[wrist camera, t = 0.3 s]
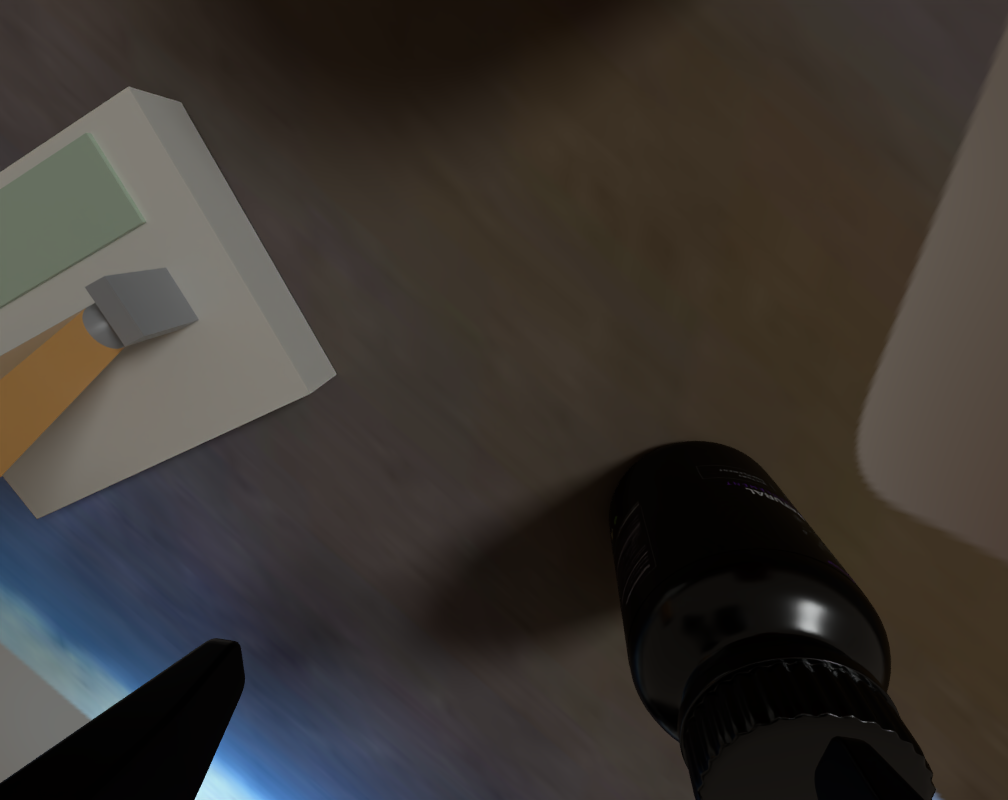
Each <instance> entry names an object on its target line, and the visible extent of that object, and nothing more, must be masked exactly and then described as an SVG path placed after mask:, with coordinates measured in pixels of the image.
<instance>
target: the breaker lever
mask: <svg viewBox="0 0 1008 800" xmlns="http://www.w3.org/2000/svg"><path fill="white" fill-rule="evenodd" d="M124 347H125V346H124V344H123V343H122V341H121V340H120V339H119V337H118V336H117V334H116V333H115V331H114V330H113V328H112V327H111V325H110V324H109V322H108V321H107V319H106V318H105V316H104V315H103V313H102V312H101V311H100V309H99V308H98V306H97V305H96V303H94V304H92V305H90V306H88V307H87V308H85V309H83V310H81V311H79V312H78V313H76V314H74V315H72V316H71V317H69V318H67V319H65V320H63V321H62V322H60V323H58V324H56V325H55V326H53V327H51V328H49V329H47V330H46V331H44V332H42V333H40V334H39V335H37V336H35V337H33V338H31V339H30V340H28V341H26V342H24V343H23V344H21V345H19V346H17V347H15V348H14V349H12V350H10V351H8V352H7V353H5V354H3V355H1V356H0V477H1V476H2V475H3V474H4V473H5V472H6V471H7V470H8V469H9V468H10V467H11V466H12V465H13V463H14V462H15V461H16V460H17V459H18V458H19V457H20V456H21V455H22V454H23V453H24V452H25V451H26V450H27V449H28V448H29V447H30V446H31V445H32V444H33V443H34V441H35V440H36V439H37V438H38V437H39V436H40V435H41V434H42V433H43V432H44V431H45V430H46V429H47V428H48V427H49V426H50V425H51V424H52V423H53V422H54V421H55V420H56V418H57V417H58V416H59V415H60V414H61V413H62V412H63V411H64V410H65V409H66V408H67V407H68V406H69V405H70V404H71V403H72V402H73V401H74V400H75V399H76V398H77V396H78V395H79V394H80V393H81V392H82V391H83V390H84V389H85V388H86V387H87V386H88V385H89V384H90V383H91V382H92V381H93V380H94V379H95V378H96V377H97V376H98V374H99V373H100V372H101V371H102V370H103V369H104V368H105V367H106V366H107V365H108V364H109V363H110V362H111V361H112V360H113V359H114V358H115V357H116V356H117V355H118V354H119V352H120V351H121V350H122V349H123V348H124Z"/></svg>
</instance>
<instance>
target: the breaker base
mask: <svg viewBox="0 0 1008 800" xmlns="http://www.w3.org/2000/svg"><path fill="white" fill-rule="evenodd" d="M94 303H96V305H97V306H98V308H99V309H100V311H101V312H102V313H103V315H104V316H105V318H106V319H107V321H108V322H109V324H110V325H111V327H112V328H113V330H114V331H115V333H116V334H117V336H118V337H119V339H120V340H121V341H122V343H123V344H124V346H125V347H124V348H123V349H122V350H121V351H120V352H119V354H118V355H117V356H116V357H115V358H114V359H113V360H112V361H111V362H110V363H109V364H108V365H107V366H106V367H105V368H104V369H103V370H102V371H101V372H100V373H99V374H98V376H97V377H96V378H95V379H94V380H93V381H92V382H91V383H90V384H89V385H88V386H87V387H86V388H85V389H84V390H83V391H82V392H81V393H80V394H79V395H78V396H77V398H76V399H75V400H74V401H73V402H72V403H71V404H70V405H69V406H68V407H67V408H66V409H65V410H64V411H63V412H62V413H61V414H60V415H59V416H58V417H57V418H56V420H55V421H54V422H53V423H52V424H51V425H50V426H49V427H48V428H47V429H46V430H45V431H44V432H43V433H42V434H41V435H40V436H39V437H38V438H37V439H36V440H35V441H34V443H33V444H32V445H31V446H30V447H29V448H28V449H27V450H26V451H25V452H24V453H23V454H22V455H21V456H20V457H19V458H18V459H17V460H16V461H15V462H14V463H13V465H12V466H11V467H10V468H9V469H8V470H7V471H6V472H5V473H4V474H3V475H2V476H3V477H4V479H5V480H6V481H7V482H8V484H9V485H10V486H11V487H12V489H13V490H14V491H15V492H16V494H17V495H18V496H19V497H20V499H21V500H22V501H23V502H24V504H25V505H26V506H27V507H28V509H29V510H30V511H31V512H32V514H33V515H34V516H35V517H36V519H38V518H41V517H43V516H45V515H47V514H49V513H52V512H54V511H56V510H58V509H60V508H62V507H65V506H67V505H69V504H71V503H73V502H75V501H78V500H80V499H82V498H84V497H86V496H89V495H91V494H93V493H95V492H97V491H99V490H102V489H104V488H106V487H108V486H110V485H113V484H115V483H117V482H119V481H121V480H123V479H126V478H128V477H130V476H132V475H134V474H136V473H139V472H141V471H143V470H145V469H147V468H150V467H152V466H154V465H156V464H158V463H160V462H163V461H165V460H167V459H169V458H171V457H174V456H176V455H178V454H180V453H182V452H184V451H187V450H189V449H191V448H193V447H195V446H198V445H200V444H202V443H204V442H206V441H208V440H211V439H213V438H215V437H217V436H219V435H221V434H224V433H226V432H228V431H230V430H232V429H235V428H237V427H239V426H241V425H243V424H245V423H248V422H250V421H252V420H254V419H256V418H259V417H261V416H263V415H265V414H267V413H269V412H272V411H274V410H276V409H278V408H280V407H282V406H285V405H287V404H289V403H291V402H293V401H296V400H298V399H300V398H302V397H304V396H306V395H309V394H311V393H312V392H313V391H315V390H316V389H318V388H319V387H320V386H322V385H323V384H324V383H326V382H327V381H328V380H330V379H331V378H333V377H334V376H335V375H337V374H336V372H335V370H334V369H333V367H332V365H331V363H330V362H329V360H328V358H327V356H326V355H325V353H324V351H323V349H322V348H321V346H320V344H319V342H318V341H317V339H316V337H315V335H314V334H313V332H312V330H311V328H310V327H309V325H308V323H307V321H306V320H305V318H304V316H303V314H302V313H301V311H300V309H299V307H298V306H297V304H296V302H295V300H294V299H293V297H292V295H291V293H290V292H289V290H288V288H287V286H286V285H285V283H284V281H283V279H282V278H281V276H280V274H279V272H278V271H277V269H276V267H275V266H274V264H273V262H272V260H271V259H270V257H269V255H268V253H267V252H266V250H265V248H264V246H263V245H262V243H261V241H260V239H259V238H258V236H257V234H256V232H255V231H254V229H253V227H252V225H251V224H250V222H249V220H248V218H247V217H246V215H245V213H244V211H243V210H242V208H241V206H240V204H239V203H238V201H237V199H236V197H235V196H234V194H233V192H232V190H231V189H230V187H229V185H228V183H227V182H226V180H225V178H224V176H223V175H222V173H221V171H220V169H219V168H218V166H217V164H216V162H215V161H214V159H213V157H212V156H211V154H210V152H209V150H208V149H207V147H206V145H205V143H204V142H203V140H202V138H201V136H200V135H199V133H198V131H197V129H196V128H195V126H194V124H193V122H192V121H191V119H190V117H189V115H188V114H187V112H186V110H185V108H184V107H183V105H182V103H181V102H179V101H175V100H172V99H168V98H165V97H162V96H158V95H155V94H152V93H148V92H145V91H142V90H138V89H135V88H132V87H127V88H126V89H124V90H123V91H121V92H120V93H118V94H117V95H115V96H114V97H112V98H111V99H109V100H108V101H106V102H105V103H103V104H102V105H100V106H99V107H97V108H96V109H94V110H93V111H91V112H90V113H88V114H87V115H85V116H84V117H82V118H81V119H79V120H78V121H76V122H75V123H73V124H72V125H70V126H69V127H67V128H66V129H64V130H63V131H61V132H60V133H58V134H57V135H55V136H54V137H52V138H51V139H49V140H48V141H46V142H45V143H43V144H42V145H40V146H39V147H37V148H36V149H34V150H33V151H31V152H30V153H28V154H27V155H25V156H24V157H22V158H21V159H19V160H18V161H16V162H15V163H13V164H12V165H10V166H9V167H7V168H6V169H4V170H3V171H1V172H0V356H1V355H3V354H5V353H7V352H8V351H10V350H12V349H14V348H15V347H17V346H19V345H21V344H23V343H24V342H26V341H28V340H30V339H31V338H33V337H35V336H37V335H39V334H40V333H42V332H44V331H46V330H47V329H49V328H51V327H53V326H55V325H56V324H58V323H60V322H62V321H63V320H65V319H67V318H69V317H71V316H72V315H74V314H76V313H78V312H79V311H81V310H83V309H85V308H87V307H88V306H90V305H92V304H94Z"/></svg>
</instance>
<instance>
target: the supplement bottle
mask: <svg viewBox="0 0 1008 800" xmlns="http://www.w3.org/2000/svg"><path fill="white" fill-rule="evenodd" d="M609 526H610V534H611V543H612V550H613V557H614V564H615V571H616V578H617V585H618V592H619V598H620V605H621V612H622V619H623V626H624V633H625V640H626V647H627V653H628V660H629V665H630V670H631V675H632V679H633V682H634V685H635V688H636V690H637V693H638V695H639V697H640V699H641V701H642V703H643V704H644V706H645V708H646V709H647V711H648V712H649V713H650V715H651V716H652V717H653V719H654V720H655V721H656V722H657V723H658V724H659V725H660V726H661V727H662V728H663V729H664V730H665V731H666V732H667V733H668V734H669V735H670V736H671V737H672V738H674V739H675V740H676V741H678V742H679V743H680V748H681V752H682V756H683V759H684V761H685V764H686V766H687V768H688V770H689V774H690V779H691V783H692V788H693V792H694V796H695V799H696V800H818V797H817V793H816V789H815V782H814V775H815V770H816V767H817V765H818V763H819V761H820V759H821V758H822V756H823V754H824V752H825V750H826V748H827V746H828V744H829V742H830V741H831V739H832V738H834V737H836V736H843V737H849V738H855V739H860V740H863V741H865V742H867V743H868V744H869V745H871V746H872V747H873V748H874V749H875V750H876V751H877V752H878V753H879V754H880V755H881V756H882V757H883V758H884V759H885V760H886V761H887V762H888V763H889V764H890V765H891V766H892V767H893V768H894V769H895V770H896V771H897V772H898V773H899V774H900V775H901V776H902V778H903V779H904V780H905V781H906V782H907V783H908V784H909V785H910V786H911V787H912V788H913V789H914V790H915V791H916V792H917V793H918V794H919V795H920V796H921V797H922V798H923V799H924V800H932V797H933V795H934V793H935V791H936V789H935V787H934V784H933V782H932V777H933V773H932V770H931V768H930V766H929V764H928V762H927V761H926V759H925V757H924V754H923V752H922V750H921V748H920V747H919V745H918V743H917V742H916V740H915V739H914V737H913V736H912V734H911V733H910V731H909V730H908V729H907V727H906V726H905V724H904V723H903V721H902V720H901V718H900V716H899V713H898V711H897V708H896V707H895V705H894V703H893V701H892V700H891V698H890V697H889V695H888V694H887V690H888V686H889V681H890V674H891V655H890V647H889V642H888V638H887V634H886V631H885V629H884V626H883V624H882V621H881V619H880V617H879V616H878V614H877V612H876V610H875V609H874V607H873V606H872V605H871V603H870V602H869V600H868V599H867V597H866V596H865V595H864V593H863V592H862V591H861V589H860V588H859V587H858V586H857V584H856V583H855V582H854V581H853V579H852V578H851V577H850V576H849V574H848V573H847V572H846V571H845V569H844V568H843V567H842V565H841V564H840V563H839V562H838V560H837V559H836V558H835V557H834V555H833V554H832V553H831V552H830V550H829V549H828V548H827V547H826V545H825V544H824V543H823V542H822V540H821V539H820V538H819V537H818V535H817V534H816V533H815V532H814V530H813V529H812V528H811V527H810V525H809V524H808V523H807V522H806V520H805V519H804V518H803V517H802V515H801V514H800V513H799V512H798V510H797V509H796V508H795V507H794V505H793V504H792V503H791V502H790V500H789V499H788V498H787V497H786V495H785V494H784V493H783V492H782V490H781V489H780V488H779V487H778V485H777V484H776V483H775V482H774V481H773V480H772V478H771V477H770V476H769V475H768V474H767V472H766V471H765V470H764V469H763V468H762V467H761V466H760V465H759V464H758V463H756V462H755V461H754V460H753V459H752V458H750V457H749V456H747V455H746V454H744V453H742V452H740V451H739V450H736V449H734V448H731V447H729V446H726V445H722V444H718V443H714V442H706V441H687V442H680V443H675V444H671V445H668V446H665V447H662V448H660V449H657V450H655V451H653V452H651V453H649V454H648V455H646V456H644V457H643V458H641V459H640V460H639V461H638V462H636V463H635V464H634V465H633V466H632V467H631V468H630V469H629V470H628V471H627V472H626V473H625V475H624V476H623V477H622V479H621V480H620V482H619V484H618V486H617V487H616V490H615V492H614V494H613V497H612V501H611V505H610V512H609Z"/></svg>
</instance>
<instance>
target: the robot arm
mask: <svg viewBox="0 0 1008 800" xmlns="http://www.w3.org/2000/svg"><path fill="white" fill-rule="evenodd" d="M244 684H245V674H244V667H243V660H242V652H241V647H240V645H239V644H238V642H236V641H231V640H225V639H218V638H214V639H211V640H209V641H207V642H205V643H204V644H202V645H201V646H199V647H198V648H196V649H195V650H193V651H192V652H190V653H189V654H188V655H186V656H185V657H183V658H182V659H180V660H179V661H177V662H176V663H174V664H173V665H172V666H170V667H169V668H167V669H166V670H164V671H163V672H161V673H160V674H158V675H157V676H156V677H154V678H153V679H151V680H150V681H148V682H147V683H145V684H144V685H142V686H141V687H139V688H138V689H137V690H135V691H134V692H132V693H131V694H129V695H128V696H126V697H125V698H123V699H122V700H121V701H119V702H118V703H116V704H115V705H113V706H112V707H110V708H109V709H107V710H106V711H105V712H103V713H102V714H100V715H99V716H97V717H96V718H94V719H93V720H91V721H90V722H89V723H87V724H86V725H84V726H83V727H81V728H80V729H78V730H77V731H75V732H74V733H73V734H71V735H70V736H68V737H67V738H66V739H64V740H62V741H61V742H59V743H58V744H57V745H55V746H54V747H52V748H51V749H49V750H48V751H46V752H45V753H44V754H42V755H40V756H39V757H38V758H36V759H35V760H33V761H32V762H31V763H29V764H27V765H26V766H24V767H23V768H22V769H20V770H19V771H17V772H16V773H14V774H13V775H12V776H10V777H9V778H7V779H6V780H4V781H3V782H1V783H0V800H194V799H195V797H196V795H197V793H198V791H199V789H200V787H201V785H202V782H203V780H204V778H205V776H206V773H207V771H208V769H209V767H210V764H211V762H212V760H213V758H214V755H215V753H216V751H217V748H218V746H219V744H220V742H221V739H222V737H223V735H224V733H225V730H226V728H227V726H228V724H229V721H230V719H231V717H232V715H233V712H234V710H235V708H236V706H237V703H238V701H239V699H240V697H241V694H242V691H243V688H244ZM814 782H815V789H816V793H817V797H818V800H924V799H923V798H922V797H921V796H920V795H919V794H918V793H917V792H916V791H915V790H914V789H913V788H912V787H911V786H910V785H909V784H908V783H907V782H906V781H905V780H904V779H903V778H902V776H901V775H900V774H899V773H898V772H897V771H896V770H895V769H894V768H893V767H892V766H891V765H890V764H889V763H888V762H887V761H886V760H885V759H884V758H883V757H882V756H881V755H880V754H879V753H878V752H877V751H876V750H875V749H874V748H873V747H872V746H871V745H869V744H868V743H867V742H865V741H863V740H860V739H855V738H849V737H843V736H836V737H834V738H832V739H831V741H830V742H829V744H828V746H827V748H826V750H825V752H824V754H823V756H822V758H821V759H820V761H819V763H818V765H817V767H816V770H815V775H814Z"/></svg>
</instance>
